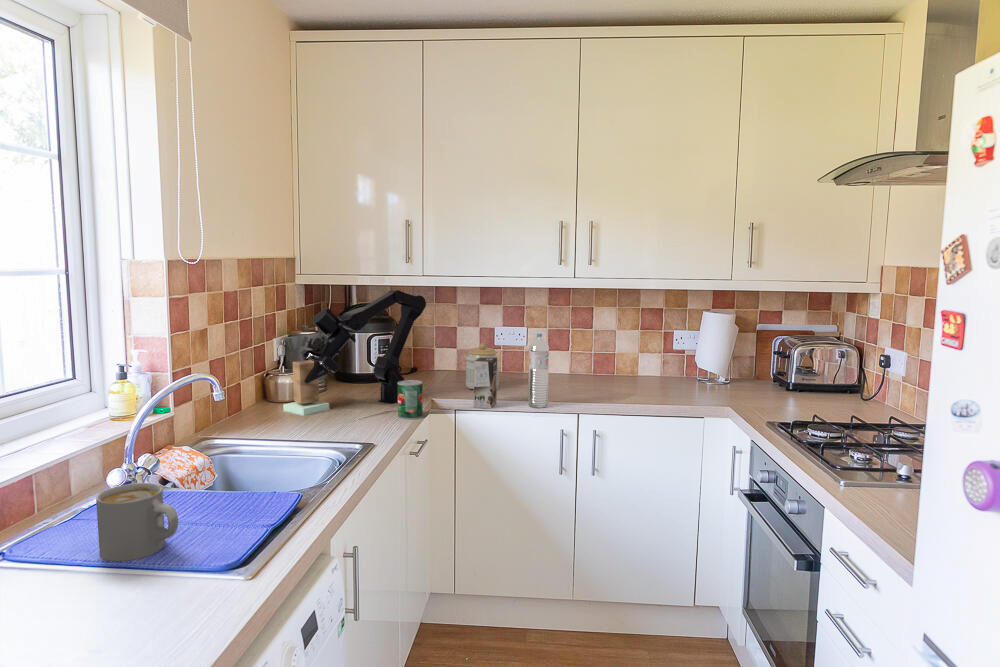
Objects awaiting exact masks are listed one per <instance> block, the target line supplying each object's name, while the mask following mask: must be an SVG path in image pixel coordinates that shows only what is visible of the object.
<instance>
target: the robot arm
mask: <svg viewBox="0 0 1000 667" xmlns="http://www.w3.org/2000/svg"><path fill="white" fill-rule="evenodd" d="M395 304H398V305H400V319H399V321H398V323H397V326H396V328H395V330H394V333H393V335H392V338H391V339H390V340H391V341H390V342H389V345H388V347H387V349H386V352H385V353H384V355H383V356H381V355H378V356H377V358H376V360H375V363H374V365H373V367H374V368H373V373H374V376H375V378H377V381H378V383H379V384H380V398H379V399H377V400H378V402H382V403H387V404H393V403H398V382H399V381H403V380H405V378H404V377H403V376H402V375H401V373H399V371H400V367H401V366H400V357H401V354H402V351H403V350H404V348H405V345H406V342H407V340H408V337H409V335H410V333H411V331H412V327H413V325H414V322H415V321H416V320H417V319H418V318H419V317H420V316H421V315H422V314H423V312H424V311H425V309H426V307H427V302H426V299H425V297H424V296H423V295H420V294H419V295H418V294H410V293H406V292H403V291H402V290H399V289H391V290H388V291H387V292H386V293H385V294H383V295H381V296H379V297H378V298H376V299H374V300H373V301H372V302H370V303H368V304H366V305H364V306H363V307H360V308H355V309H352V310H349V311H347V312H343V314H342V315H341V316H336V315H335V314H334V313H333V311H332V310H331V309H330V308H329V307H325V308H324V309H323V310H321V311H319V312H318V313H316V314H315V315H314V316H313V317H312V319H311V322H312V324H313V325H314V326H315V328H317V329H318V330H319V331H320V332H321V333H322V334H323V335H328V336H327V338H325V339H322V338H320V337H318V336H314V337H313V338H311V337H308V336H303V339H302V341H301V343H300V346H301V347H305V348H304V349H302V351H300V353H299V354H300V355H301V358H302V361H307V360H312V361H314V367H313V369H312V370H311V372H310V373H309V375H308V376H307V377H306V379H305V382H306V383H309V382H311V381H313V380H315V379H317V378H321V377H324V376H326V375H329V374H331V373H334V374H336V373H337V371H338V370H339V369H340V367H339V366H340V365H339V364H338V362H336V361H335V360H334V358H335V357H336V356H337V355H340V354H341V353H342V352H341V350H342V349H343V348H344V347H345V345H346V344H347V343H348V342H349V341H350V342H353V343H356V334H355V333H354V332H350V331H357V332H358V331H360V330H362V329H363V328H365V326H367V324H368V323H369V322H370V320H371V319H373V317H375V316H377V315H378V314H380V313H382V312H384V311H385V310H387V309H388V308H390V307H391V306H393V305H395ZM341 326H342V327H341ZM349 330H350V331H349Z"/></svg>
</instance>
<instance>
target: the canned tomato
mask: <svg viewBox="0 0 1000 667" xmlns="http://www.w3.org/2000/svg"><path fill="white" fill-rule="evenodd" d="M423 383H424V382H423V381H422V380H416V379H404V380H403V381H399V382H398V402H397V418H399V419H403V420H417V419H421V418H423V413H424V412H423V408H424V407H423V404H424V403H423V401H424V400H423V398H424V397H423V396H424V395H423V393H424V392H423Z"/></svg>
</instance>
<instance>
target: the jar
mask: <svg viewBox="0 0 1000 667" xmlns="http://www.w3.org/2000/svg"><path fill="white" fill-rule="evenodd" d="M467 353H468V356H466V357H465V360H466V365H465V370H466V371H465V376H466V377H465V387H466V386H467V387H470V388H474V361H475V360H477V359H478V358H480V357H482V358H486V357H488V358H497V387H498V388H499V387H500V380H499V378H500V375H499V374H500V365H499V361H500V357H499V356H498V355H497V354H498V351H497V350H495V349H494V348H492V347H487V345H486V343H484V342H480V344H479V347H472V348H471V349H469V350H468V352H467Z"/></svg>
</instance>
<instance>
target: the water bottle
mask: <svg viewBox="0 0 1000 667" xmlns="http://www.w3.org/2000/svg"><path fill="white" fill-rule="evenodd" d="M542 336H543V333H536V338H535V339H533V340H532V341H531V343H530V344H529V345H528V350H529V351H528V352H529V354H528V355H529V356H528V380H527V382H528V383H527V384H528V387H527V391H528V392H527V403H528V406H529V407H530V408H533V409H534V408H535V409H545V408H546V407H548V405H549V376H550V375H549V374H550V372H549V370H550V369H549V357H550V356H549V351H550V345H549V344H548V342H547V341H546V340H545V339H544V338H543V337H542Z"/></svg>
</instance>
